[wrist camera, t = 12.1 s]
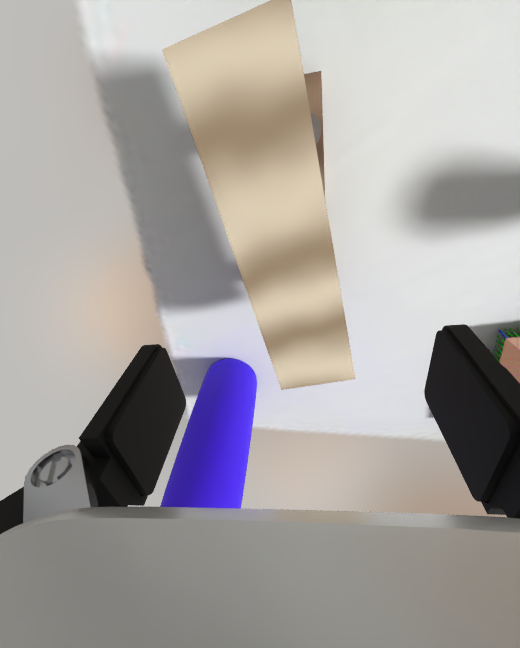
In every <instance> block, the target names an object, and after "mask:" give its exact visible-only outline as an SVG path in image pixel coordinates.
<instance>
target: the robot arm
mask: <svg viewBox="0 0 520 648" xmlns="http://www.w3.org/2000/svg"><path fill="white" fill-rule="evenodd" d="M425 399H426V401H427V404H428V406H429V408H430V410H431V412H432V414H433V416H434V418H435V420H436V422H437V424H438V426H439V428H440V430H441V432H442V434H443V436H444V439H445V441H446V443H447V444H448V447H449V449H450V451H451V453H452V455H453V457H454V459H455V461H456V463H457V465H458V467H459V469H460V471H461V474H462V476H463V478H464V480H465V482H466V484H467V486H468V488H469V490H470V492H471V494H472V496H473V498H474V499H475V500H477V501H481V502H482V504H483V506H484V508H485V510H486V512H487V514H501V515H502V514H503V515H506V516H507V518H505V517H488V516H466V515H445V514H418V513H415V514H414V513H385V512H353V511H352V512H350V511H317V510H315V511H314V510H276V509H238V508H189V507H127V506H128V505H144V504H145V501H146V499H147V496H148V495H150V494H152V492H153V490H154V488H155V486H156V483H157V480H158V478H159V475H160V472H161V470H162V467H163V465H164V462H165V459H166V457H167V454H168V452H169V449H170V446H171V444H172V441H173V439H174V436H175V433H176V430H177V428H178V425H179V423H180V420H181V418H182V415H183V413H184V410H185V407H186V399H185V396H184V393H183V391H182V388H181V386H180V383H179V381H178V378H177V376H176V373H175V371H174V368H173V366H172V363H171V361H170V358H169V355H168V353H167V351H166V349H165V348H162V347H161V346H160V345H158V344H156V345H144V346H142V347H141V349H140V350H139V351H138V353H137V354H136V356H135V357H134V359H133V360H132V362H131V363H130V365H129V366H128V367H127V369H126V370H125V372H124V373H123V375H122V376H121V378H120V379H119V380H118V382H117V383H116V385H115V386H114V388H113V389H112V391H111V392H110V394H109V395H108V397H107V398H106V399H105V401H104V402H103V404H102V406H101V407H100V408H99V410H98V411H97V413H96V414H95V416H94V417H93V418H92V420H91V421H90V423H89V424H88V426H87V427H86V429H85V430H84V431H83V433H82V434H81V436H80V437H79V439H80V440H81V441H80V443H79V444H78V446H77V447H76V446H74V445H64V446H60V447H57V448H55V449H53V450H51V451H49V452H48V453H46V454H45V455H43V456H42V457H41V458H40V459H39V460H37V461H36V462H35V464H34V465H33V466H32V467H31V468H30V470H29V471H28V473H27V475H26V477H25V482H24V487H22V488H21V489H19V490H18V491H16V492H14V493H13V494H11V495H9V496H8V497H6V498H5V499H3V500H1V501H0V648H520V383H519V382H518V381H517V380H516V379H515V378H514V376H513V375H512V374H511V373H510V372H509V371H508V370H507V369H506V368H505V367H504V366H502V365H501V364H500V362H499V361H498V360H497V359H496V358H495V357H494V356H493V354H492V353H491V352H490V351H489V350H488V349H487V348H486V346H485V345H484V344H483V343H482V342H481V341H480V340H479V338H478V337H477V336H476V335H475V334H474V333H473V332H472V330H471V329H470V328H469V327H468V326H467V325H449V326H444V327H443V329H442V330H441V331H438V332H437V334H436V338H435V343H434V347H433V352H432V357H431V362H430V366H429V371H428V376H427V381H426V386H425Z"/></svg>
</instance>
